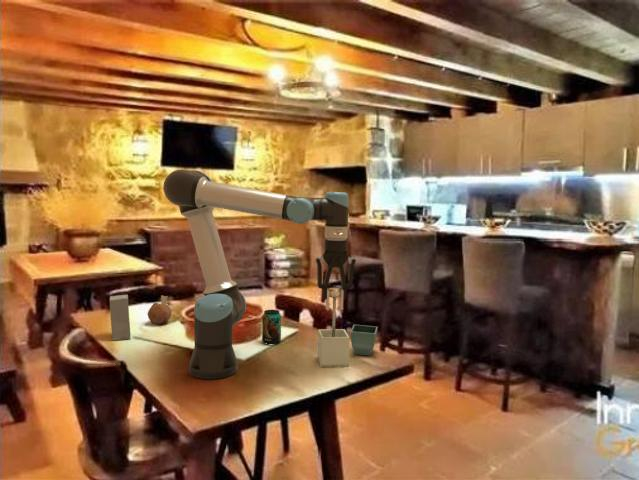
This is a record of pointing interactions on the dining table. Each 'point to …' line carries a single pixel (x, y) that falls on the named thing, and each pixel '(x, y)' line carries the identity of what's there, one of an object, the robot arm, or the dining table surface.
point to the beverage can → (271, 327)
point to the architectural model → (165, 301)
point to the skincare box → (120, 317)
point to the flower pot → (363, 339)
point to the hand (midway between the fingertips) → (334, 308)
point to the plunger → (334, 305)
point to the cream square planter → (333, 348)
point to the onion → (159, 313)
